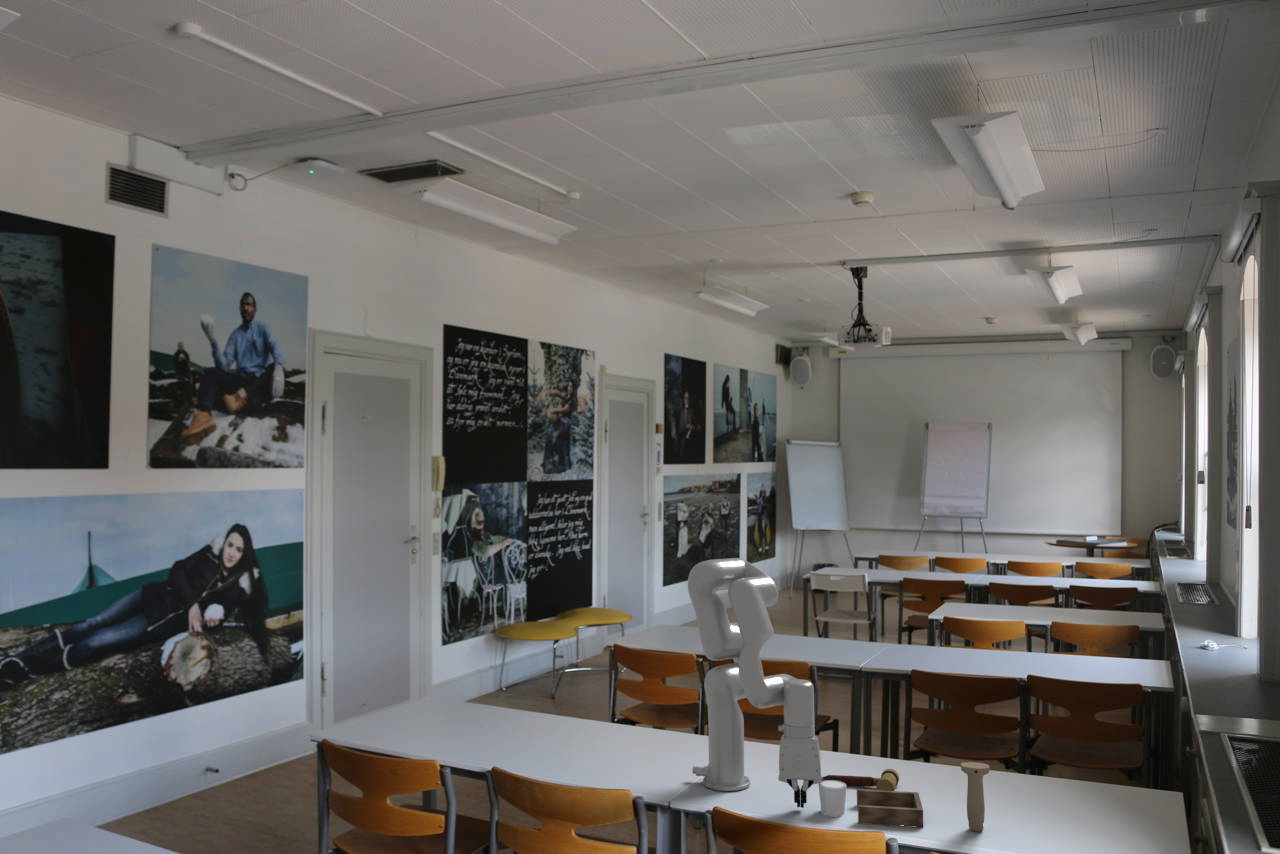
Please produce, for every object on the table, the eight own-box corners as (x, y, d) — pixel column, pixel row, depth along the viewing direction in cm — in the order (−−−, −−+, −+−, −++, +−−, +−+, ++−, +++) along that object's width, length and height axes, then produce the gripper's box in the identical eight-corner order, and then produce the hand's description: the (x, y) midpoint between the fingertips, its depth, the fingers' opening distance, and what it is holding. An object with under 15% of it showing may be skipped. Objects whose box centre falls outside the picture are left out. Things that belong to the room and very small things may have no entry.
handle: (960, 825, 237) (959, 761, 238) (989, 827, 236) (988, 763, 236) (962, 832, 232) (961, 767, 233) (991, 834, 231) (990, 769, 231)
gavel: (813, 776, 265) (820, 765, 275) (814, 793, 265) (822, 782, 274) (893, 779, 258) (898, 768, 267) (894, 797, 257) (899, 786, 267)
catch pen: (858, 823, 238) (858, 806, 239) (856, 804, 251) (856, 788, 251) (923, 827, 236) (923, 810, 236) (918, 808, 249) (918, 792, 249)
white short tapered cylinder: (848, 809, 248) (848, 781, 248) (844, 818, 242) (844, 789, 242) (820, 806, 250) (820, 778, 251) (816, 815, 244) (816, 786, 244)
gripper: (768, 733, 246) (769, 809, 245) (829, 736, 243) (831, 812, 242) (770, 725, 253) (771, 799, 252) (829, 728, 250) (831, 802, 250)
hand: (800, 805), depth 247 cm, fingers closed
